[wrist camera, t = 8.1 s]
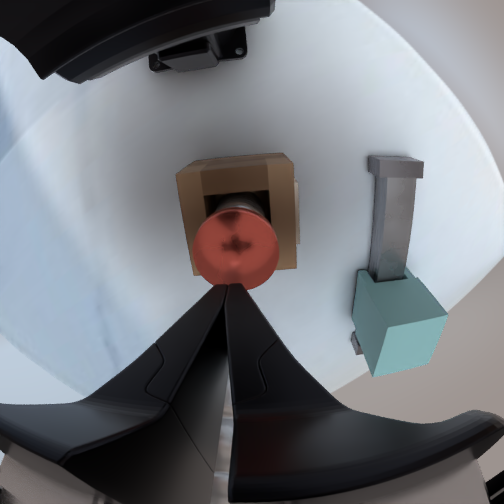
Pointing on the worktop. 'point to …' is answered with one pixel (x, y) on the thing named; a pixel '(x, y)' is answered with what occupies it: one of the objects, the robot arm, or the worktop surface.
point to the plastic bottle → (223, 453)
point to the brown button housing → (241, 180)
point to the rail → (391, 218)
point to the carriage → (396, 322)
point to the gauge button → (236, 243)
